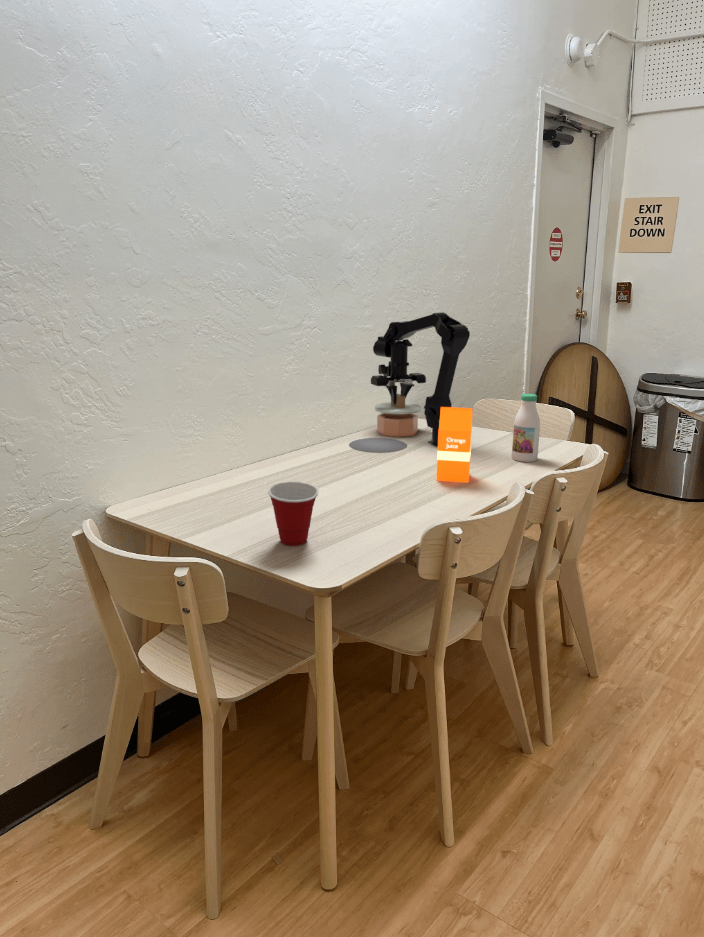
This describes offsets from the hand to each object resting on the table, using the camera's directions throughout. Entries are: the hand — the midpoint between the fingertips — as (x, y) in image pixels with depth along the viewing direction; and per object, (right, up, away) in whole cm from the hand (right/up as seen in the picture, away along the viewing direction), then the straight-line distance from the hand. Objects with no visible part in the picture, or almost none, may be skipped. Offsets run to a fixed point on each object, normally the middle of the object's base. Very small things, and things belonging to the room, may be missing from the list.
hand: (398, 404), depth 247 cm
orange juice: (+12, -25, -47) cm, 55 cm away
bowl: (0, -10, +3) cm, 10 cm away
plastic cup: (-28, -38, -92) cm, 104 cm away
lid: (0, -2, +1) cm, 2 cm away
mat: (-7, -15, -15) cm, 22 cm away
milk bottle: (+37, -20, -29) cm, 51 cm away
